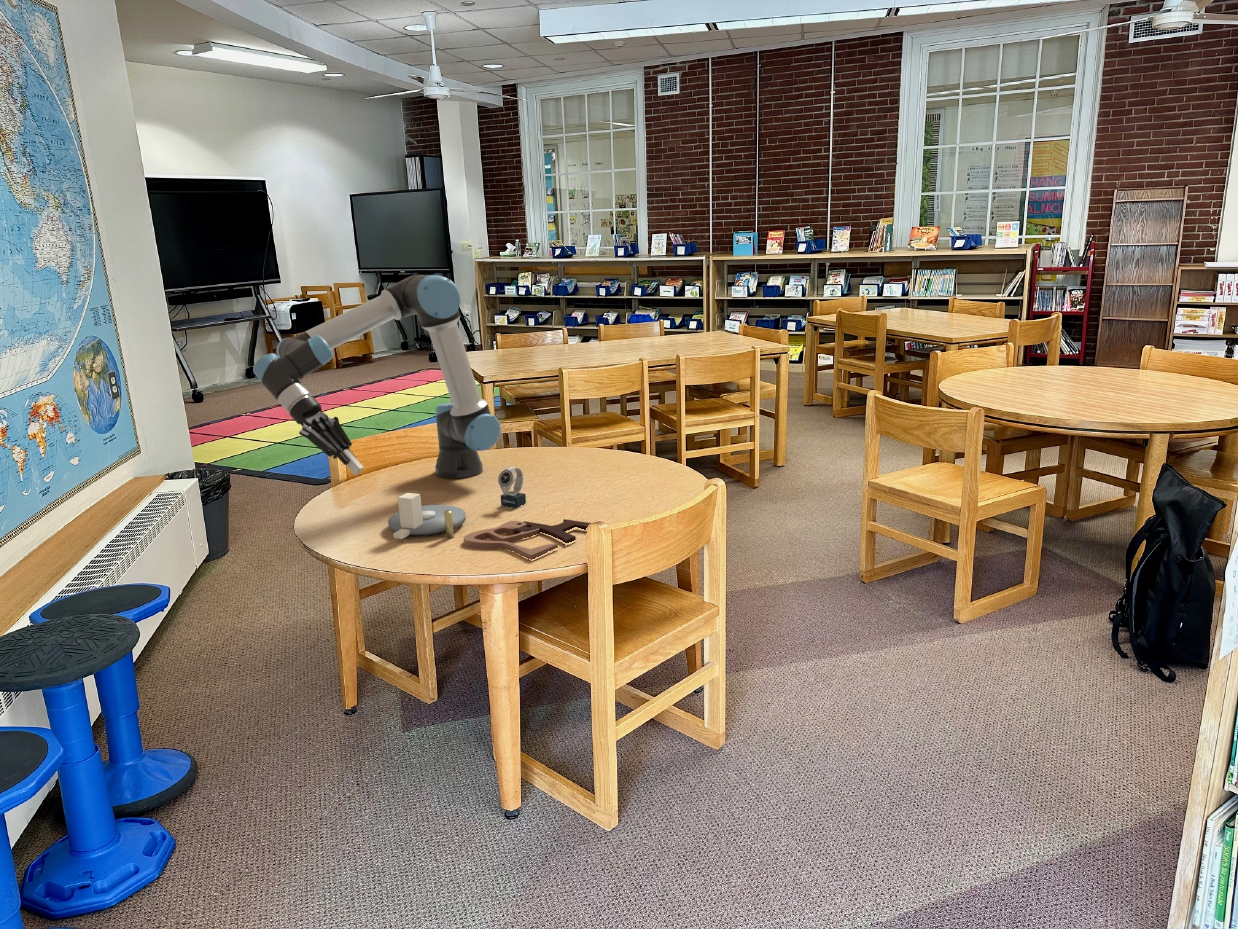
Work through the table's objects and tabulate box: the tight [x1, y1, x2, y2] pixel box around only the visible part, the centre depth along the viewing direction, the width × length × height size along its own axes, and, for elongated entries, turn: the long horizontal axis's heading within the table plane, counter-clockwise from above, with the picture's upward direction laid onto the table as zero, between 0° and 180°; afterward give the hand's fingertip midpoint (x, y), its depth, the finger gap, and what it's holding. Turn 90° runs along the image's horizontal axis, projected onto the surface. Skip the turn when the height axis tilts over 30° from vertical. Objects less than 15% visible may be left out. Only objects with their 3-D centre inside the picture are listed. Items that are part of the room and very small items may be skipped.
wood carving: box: [463, 518, 592, 560], centre depth 212 cm, size 28×2×24 cm
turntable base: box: [407, 526, 458, 538], centre depth 222 cm, size 16×16×1 cm
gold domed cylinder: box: [444, 510, 455, 540], centre depth 213 cm, size 2×2×7 cm
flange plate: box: [387, 492, 467, 540], centre depth 219 cm, size 24×20×9 cm
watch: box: [497, 466, 527, 509], centre depth 236 cm, size 6×8×11 cm
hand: (359, 471), depth 217 cm, fingers closed
